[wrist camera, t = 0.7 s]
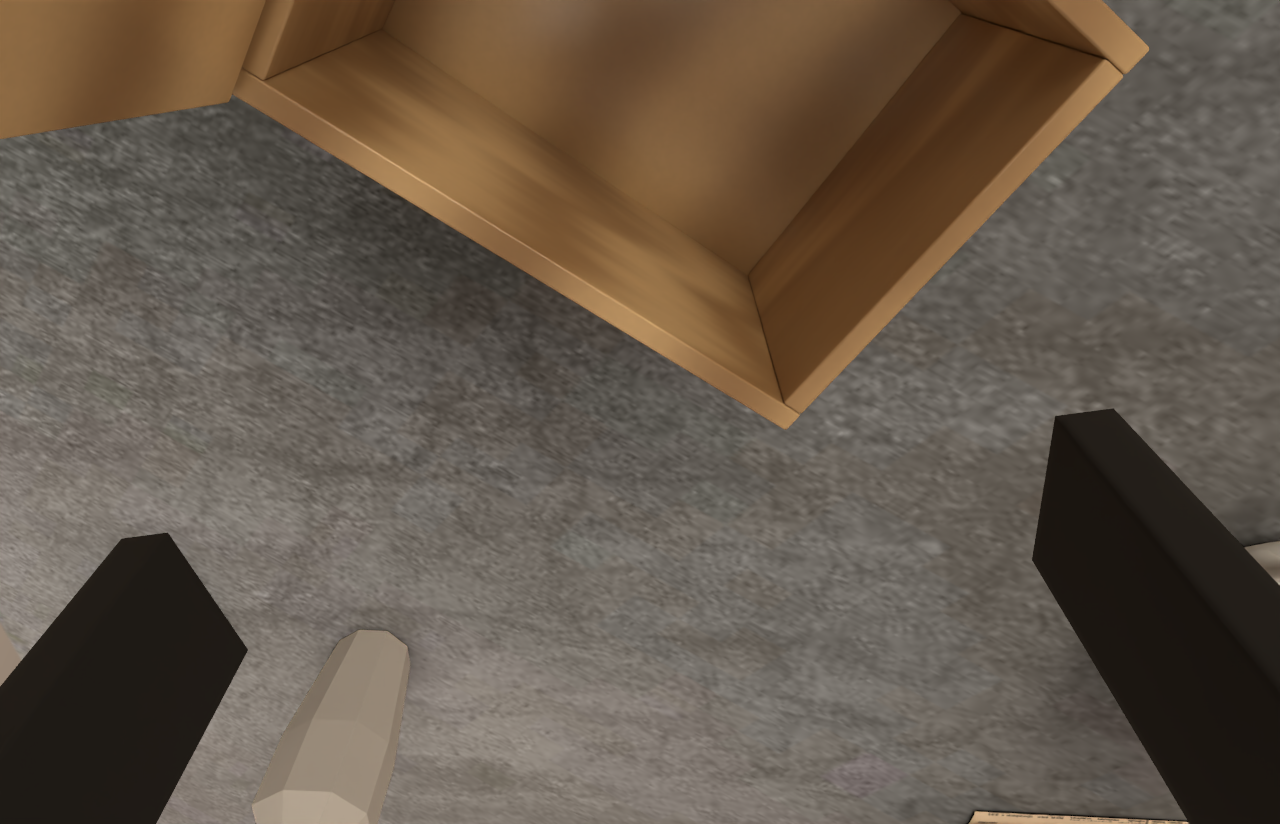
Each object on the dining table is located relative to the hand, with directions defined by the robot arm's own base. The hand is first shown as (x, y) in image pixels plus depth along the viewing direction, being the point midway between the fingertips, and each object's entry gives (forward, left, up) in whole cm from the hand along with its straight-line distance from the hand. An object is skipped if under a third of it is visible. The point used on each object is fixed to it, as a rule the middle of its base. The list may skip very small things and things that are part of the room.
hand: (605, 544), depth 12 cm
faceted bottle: (+14, -34, -25) cm, 45 cm away
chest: (-3, +4, -25) cm, 25 cm away
